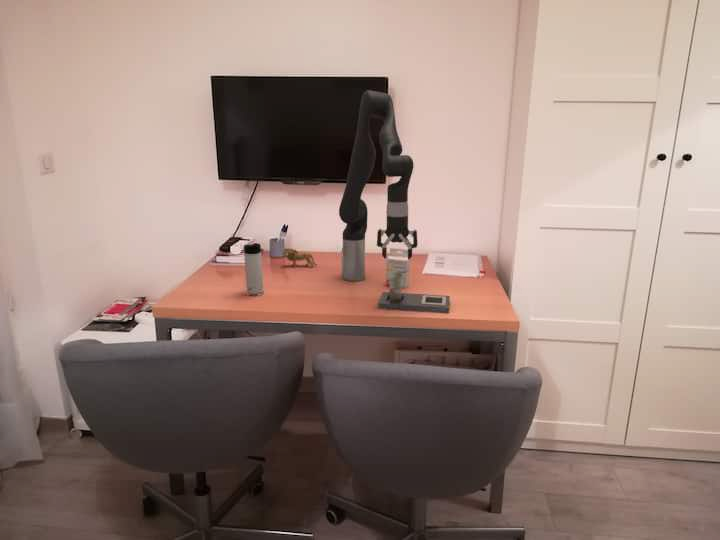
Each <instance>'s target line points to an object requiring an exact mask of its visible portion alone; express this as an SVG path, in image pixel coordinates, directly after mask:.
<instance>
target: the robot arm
mask: <svg viewBox="0 0 720 540" xmlns="http://www.w3.org/2000/svg"><path fill="white" fill-rule="evenodd" d="M359 105H360V106H359V113H358V119H357V128H356V134H355V140H354V144H353V148H352V152H351V156H350V162H349V169H348V173H347V178H346V183H345V187H344V191H343V195H342V199H341V201H340V204H339V208H338V215H339V218H340V219H341V221H342V222H343V224H346V225H345V228H344V229H343V231H342V256H341V279H342V280H345V281H349V282H359V281H363V280H365V279H366V233H367V230H368V206H367V204H366V202H365V201H364V200H363V199H362V194H363V191H364V189H365V187H366V185H367V184H368V181H369V179H370V177H371V175H372V173H373V171H374V166H375V163H376V159H377V150H376V147H375V144H374V142H373V141H374V140H373V139H372V136H371V132H370V119H371V118H376V119H382V121H383V122H384V123H383V125H382V127H381V129H380V131H379V135H378V142H379V146H380V149H381V152H382V164H381V165H382V166H381V167H382V172H383V174H384V175H385V176H386V177H389V178H393V177H395V178H397V177H399V178H400V179H398V181H396V182H392V183H390V184H389V185H388V186H387V190H386V191H387V196H386V197H387V202H386V211H385V212H386V229H381V228H379V229H378V230H377V240H376V246H377V247H379V248H381V251H382V253H381V254H382V255H381V256H382V258H383V259H386V260H387V258H388V256H387V255H388V254H387V252H388V250H387V248H388V247H387V246H388V245H389V243H390V242H392V243H400V244H401V243H403V244H404V246H406V247H407V248H408V249H407V250H408V259H410V260H411V259H412V257H413V249H416V248H417V247H418V243H419V242H418V231H417V229H414V230H410V229H409V202H408V201H409V199H408V198H409V196H408V195H409V185H410V181H411V178H412V175H413V173H414V172H413V171H414V161H413V158H412V157H411V156H410V155H407V154H406V155H405V154H403V155H402V152H403V146H402V143H401V140H400V139H401V138H400V137H399V133H398V130H397V123H396V115H395V110H394V102H393V99H392V97H391V95H390V94H388V93H386V92H381V91H377V90H376V91H375V90H370V89H369V90H368V89H367V90H366V91H364V92H363V94H362V96H361V100H360V103H359ZM384 234H385V235H386V237H387V239H386V240H385V241H384V242H382V237H383V236H384ZM409 235H410V237H412V240H413V242H412V243H411V242H410V239H409V238H408V236H409Z"/></svg>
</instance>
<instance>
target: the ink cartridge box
mask: <svg viewBox="0 0 720 540" xmlns="http://www.w3.org/2000/svg"><path fill="white" fill-rule="evenodd" d="M400 252H401V253H400ZM389 253H390V255H388V256H387V257H386V268H385V269H386V272H385V275H386V276H385V286H387V287H390V272H391V271H401V272H402V289H407V287H408V286H409V284H410V282H409V281H410V263H411V258H410V259H408V249H403V248H392V247H390V248H389Z"/></svg>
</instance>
